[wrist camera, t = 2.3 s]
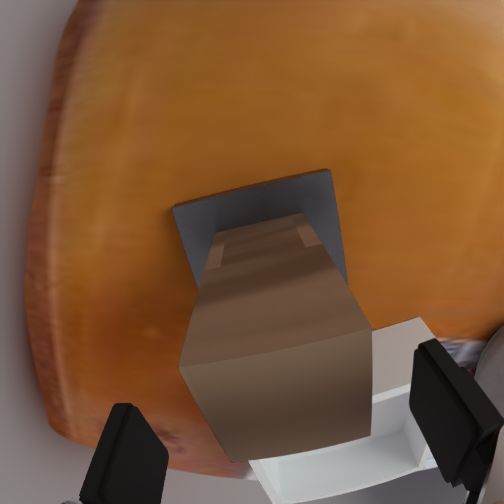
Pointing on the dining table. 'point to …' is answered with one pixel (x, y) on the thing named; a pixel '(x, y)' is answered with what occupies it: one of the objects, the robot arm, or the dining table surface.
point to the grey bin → (368, 448)
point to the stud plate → (261, 214)
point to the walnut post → (277, 344)
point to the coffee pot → (492, 370)
